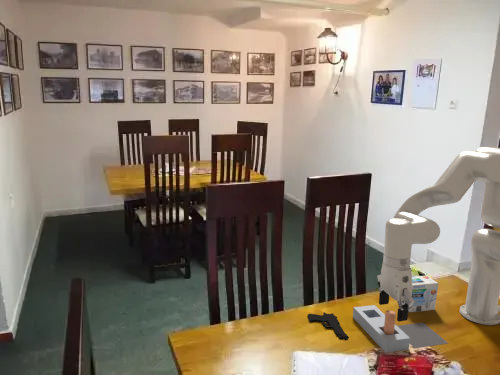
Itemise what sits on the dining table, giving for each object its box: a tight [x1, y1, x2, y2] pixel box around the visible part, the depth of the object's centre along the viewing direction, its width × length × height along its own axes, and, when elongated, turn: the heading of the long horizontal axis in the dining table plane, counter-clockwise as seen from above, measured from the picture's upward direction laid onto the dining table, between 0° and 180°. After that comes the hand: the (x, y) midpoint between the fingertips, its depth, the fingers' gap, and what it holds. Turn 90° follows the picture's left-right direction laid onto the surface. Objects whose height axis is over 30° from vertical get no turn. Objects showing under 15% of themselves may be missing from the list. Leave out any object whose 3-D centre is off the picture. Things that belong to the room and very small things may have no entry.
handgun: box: [307, 312, 350, 341], centre depth 130 cm, size 16×1×10 cm
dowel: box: [384, 309, 397, 335], centre depth 121 cm, size 3×3×10 cm
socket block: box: [352, 304, 411, 353], centre depth 126 cm, size 8×20×4 cm, turn 14°
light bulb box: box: [400, 275, 439, 313], centre depth 142 cm, size 11×7×11 cm, turn 102°
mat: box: [397, 322, 449, 349], centre depth 126 cm, size 12×12×1 cm
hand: (392, 311), depth 120 cm, fingers open, 9 cm apart
